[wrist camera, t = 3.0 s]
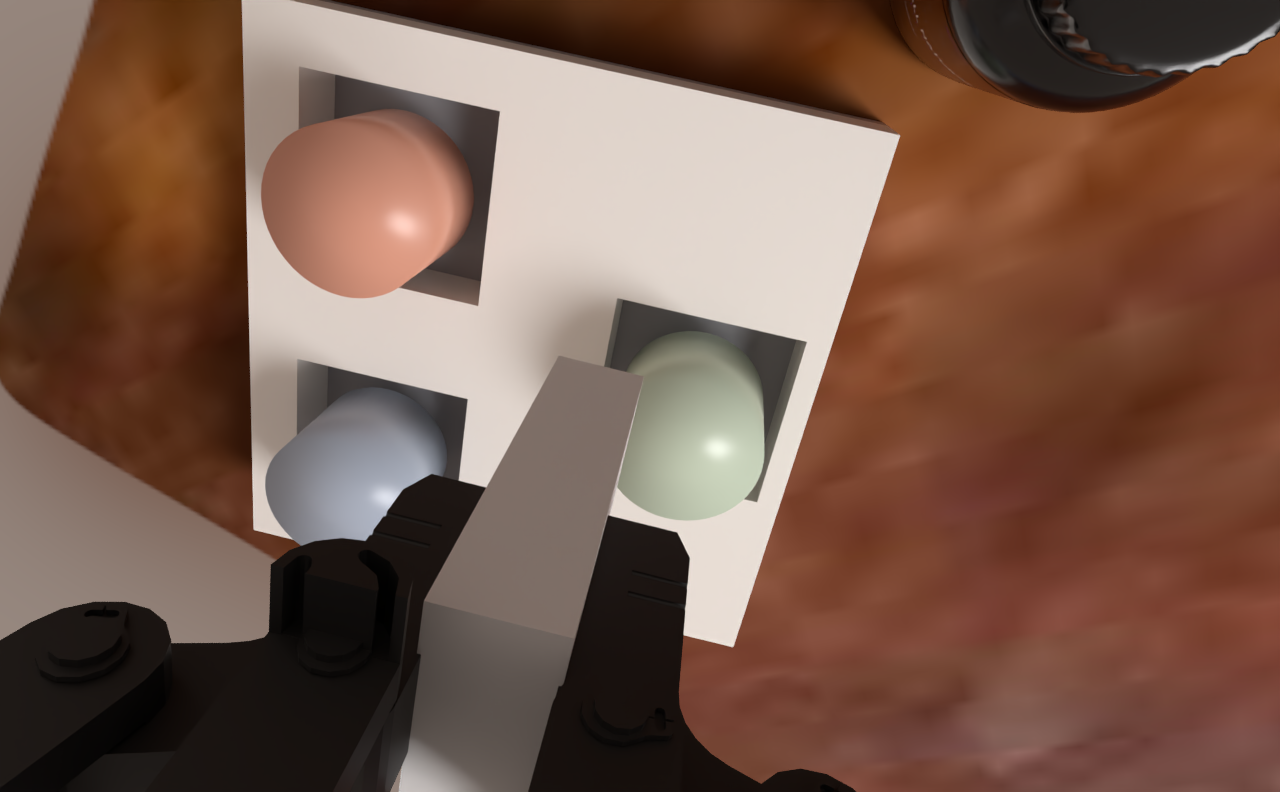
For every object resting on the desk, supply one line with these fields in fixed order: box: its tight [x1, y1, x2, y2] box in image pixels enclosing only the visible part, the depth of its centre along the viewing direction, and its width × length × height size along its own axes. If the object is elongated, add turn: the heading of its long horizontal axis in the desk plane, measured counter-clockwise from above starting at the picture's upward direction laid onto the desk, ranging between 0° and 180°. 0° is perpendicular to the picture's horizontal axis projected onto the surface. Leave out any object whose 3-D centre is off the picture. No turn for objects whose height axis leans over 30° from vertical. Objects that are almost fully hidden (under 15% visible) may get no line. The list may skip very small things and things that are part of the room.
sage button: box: [617, 331, 765, 521], centre depth 26 cm, size 5×5×4 cm
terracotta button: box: [261, 109, 474, 298], centre depth 25 cm, size 5×5×4 cm
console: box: [242, 0, 900, 647], centre depth 29 cm, size 20×20×3 cm
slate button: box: [265, 387, 447, 546], centre depth 29 cm, size 5×5×4 cm
